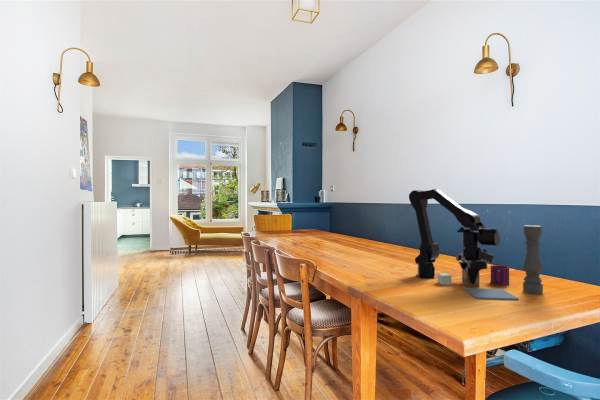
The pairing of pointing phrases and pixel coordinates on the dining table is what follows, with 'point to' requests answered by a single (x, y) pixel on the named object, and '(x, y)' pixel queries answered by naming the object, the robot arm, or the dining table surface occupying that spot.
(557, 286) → the dining table surface
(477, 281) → the walnut block
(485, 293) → the placemat
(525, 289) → the candle holder
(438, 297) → the dining table surface
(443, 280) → the sage block
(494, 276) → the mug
